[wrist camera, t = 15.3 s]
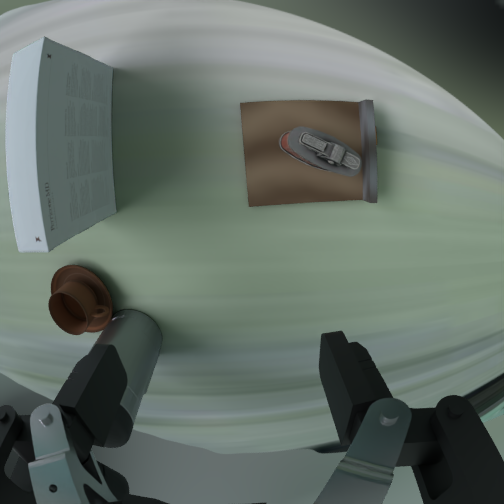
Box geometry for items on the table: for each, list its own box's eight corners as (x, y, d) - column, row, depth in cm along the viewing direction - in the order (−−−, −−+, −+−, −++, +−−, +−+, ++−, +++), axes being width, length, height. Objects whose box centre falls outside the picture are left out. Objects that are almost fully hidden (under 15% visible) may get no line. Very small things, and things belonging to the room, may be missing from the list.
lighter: (342, 153, 33) (377, 155, 24) (332, 177, 34) (364, 186, 25) (284, 126, 32) (301, 115, 23) (274, 150, 33) (287, 149, 24)
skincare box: (81, 75, 29) (11, 51, 14) (114, 67, 29) (50, 31, 14) (85, 216, 36) (16, 254, 21) (117, 214, 36) (52, 253, 21)
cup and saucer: (98, 252, 38) (78, 268, 32) (128, 320, 42) (115, 343, 36) (46, 269, 39) (26, 285, 33) (76, 330, 43) (60, 350, 37)
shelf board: (369, 197, 36) (380, 202, 33) (248, 205, 36) (249, 210, 33) (365, 104, 32) (376, 100, 29) (240, 104, 32) (240, 99, 29)
